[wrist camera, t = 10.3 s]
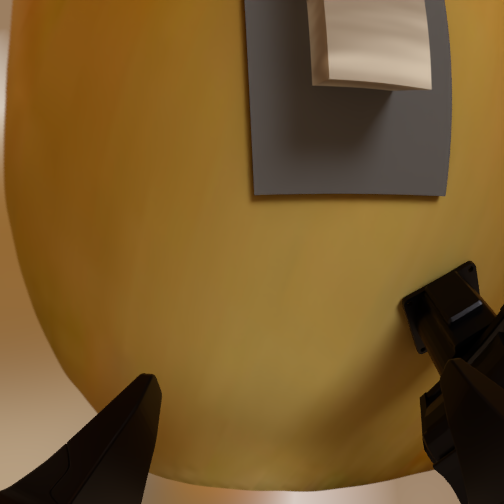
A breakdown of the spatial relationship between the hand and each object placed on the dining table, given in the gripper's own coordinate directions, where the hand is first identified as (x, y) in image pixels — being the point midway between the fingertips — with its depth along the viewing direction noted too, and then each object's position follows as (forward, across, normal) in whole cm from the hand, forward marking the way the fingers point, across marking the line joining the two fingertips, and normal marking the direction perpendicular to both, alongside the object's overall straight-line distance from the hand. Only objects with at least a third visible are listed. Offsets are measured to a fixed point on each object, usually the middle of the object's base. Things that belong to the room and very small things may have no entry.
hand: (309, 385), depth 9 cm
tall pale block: (+9, -4, -8) cm, 13 cm away
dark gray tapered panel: (+12, -4, -11) cm, 17 cm away
